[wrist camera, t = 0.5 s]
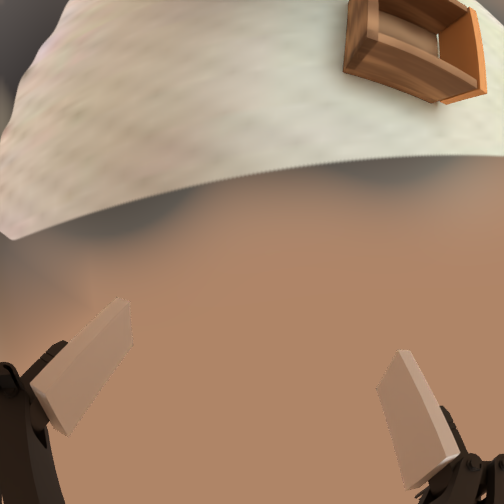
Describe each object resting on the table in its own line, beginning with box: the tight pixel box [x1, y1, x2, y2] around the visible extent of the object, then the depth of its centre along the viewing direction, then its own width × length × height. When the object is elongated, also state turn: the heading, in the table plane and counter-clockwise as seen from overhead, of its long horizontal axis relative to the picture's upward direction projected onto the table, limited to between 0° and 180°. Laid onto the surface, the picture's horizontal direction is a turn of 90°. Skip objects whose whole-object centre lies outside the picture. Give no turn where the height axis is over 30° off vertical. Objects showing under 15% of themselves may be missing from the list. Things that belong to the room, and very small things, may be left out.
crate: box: [343, 0, 477, 103], centre depth 22 cm, size 14×14×12 cm
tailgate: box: [438, 7, 487, 105], centre depth 20 cm, size 14×1×10 cm, turn 171°
